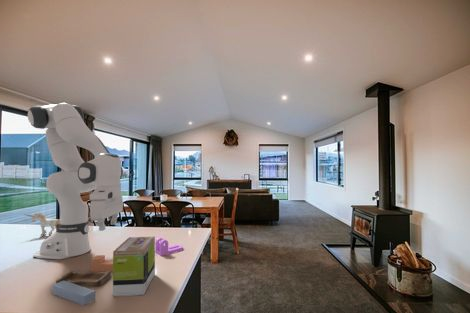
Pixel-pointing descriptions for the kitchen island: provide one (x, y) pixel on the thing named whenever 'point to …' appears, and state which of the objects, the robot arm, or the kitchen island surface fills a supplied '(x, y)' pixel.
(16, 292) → the kitchen island surface
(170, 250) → the bracket
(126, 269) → the tea box
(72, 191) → the robot arm
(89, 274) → the cradle
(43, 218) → the unicorn figurine
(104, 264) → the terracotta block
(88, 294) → the panel
